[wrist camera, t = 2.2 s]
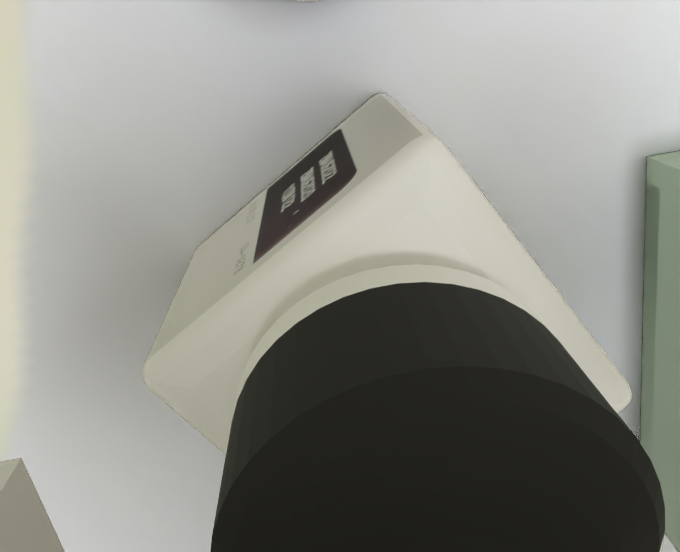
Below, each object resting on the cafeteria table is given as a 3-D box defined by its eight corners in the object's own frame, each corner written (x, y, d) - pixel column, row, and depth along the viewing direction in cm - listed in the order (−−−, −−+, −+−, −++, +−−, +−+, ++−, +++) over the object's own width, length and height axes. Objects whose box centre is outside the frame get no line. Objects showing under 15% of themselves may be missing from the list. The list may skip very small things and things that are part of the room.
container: (190, 250, 20) (21, 608, 8) (381, 85, 18) (537, 215, 6) (347, 404, 22) (401, 856, 10) (527, 271, 21) (838, 619, 9)
